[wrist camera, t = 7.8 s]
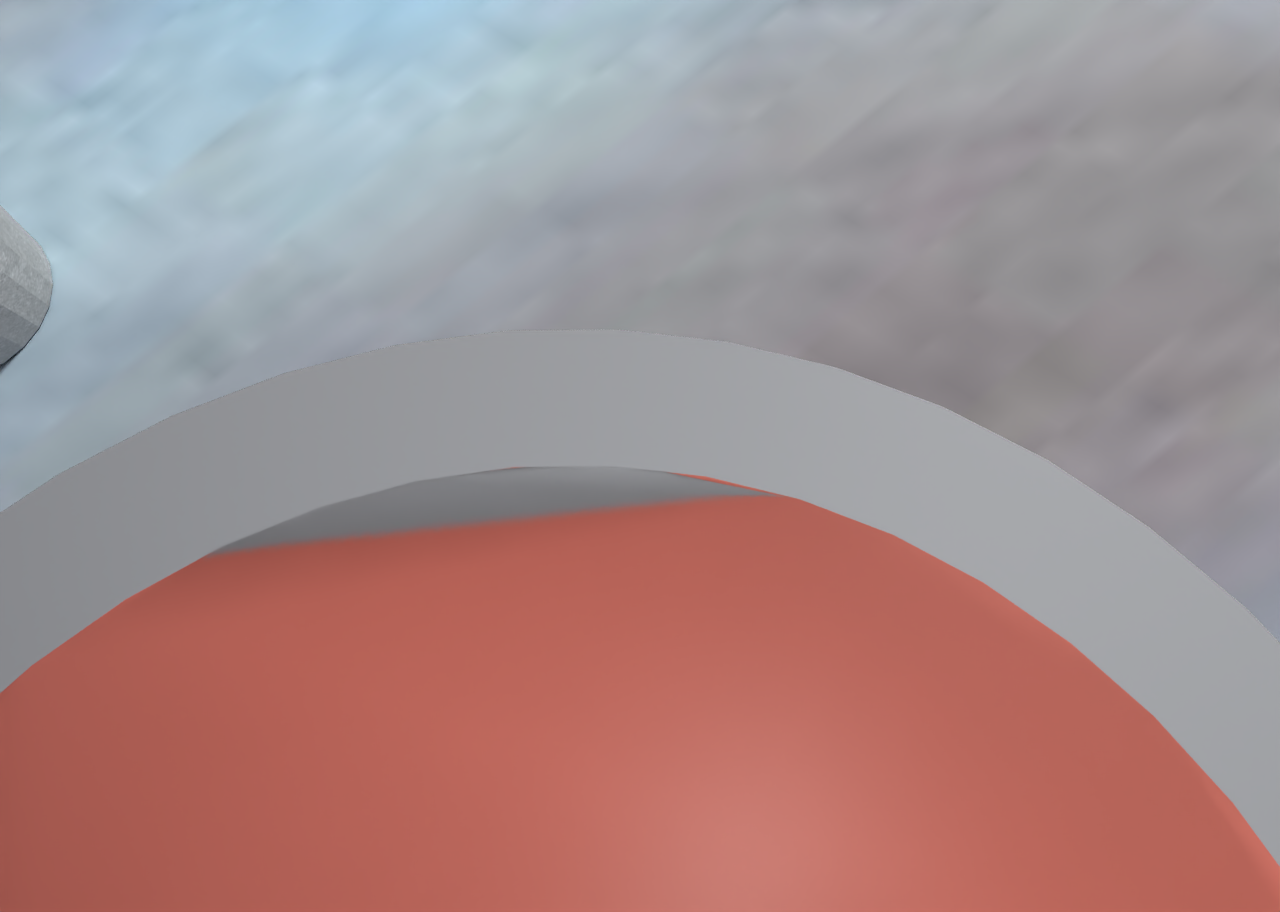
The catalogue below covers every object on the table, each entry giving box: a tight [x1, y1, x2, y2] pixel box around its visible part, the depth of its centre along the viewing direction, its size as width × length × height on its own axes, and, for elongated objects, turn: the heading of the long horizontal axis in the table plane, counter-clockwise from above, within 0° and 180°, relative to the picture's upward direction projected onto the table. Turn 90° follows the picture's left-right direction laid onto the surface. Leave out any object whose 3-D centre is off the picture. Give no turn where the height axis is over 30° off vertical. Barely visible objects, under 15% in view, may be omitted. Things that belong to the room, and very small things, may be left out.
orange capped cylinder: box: [0, 329, 1280, 912], centre depth 8 cm, size 6×6×12 cm
